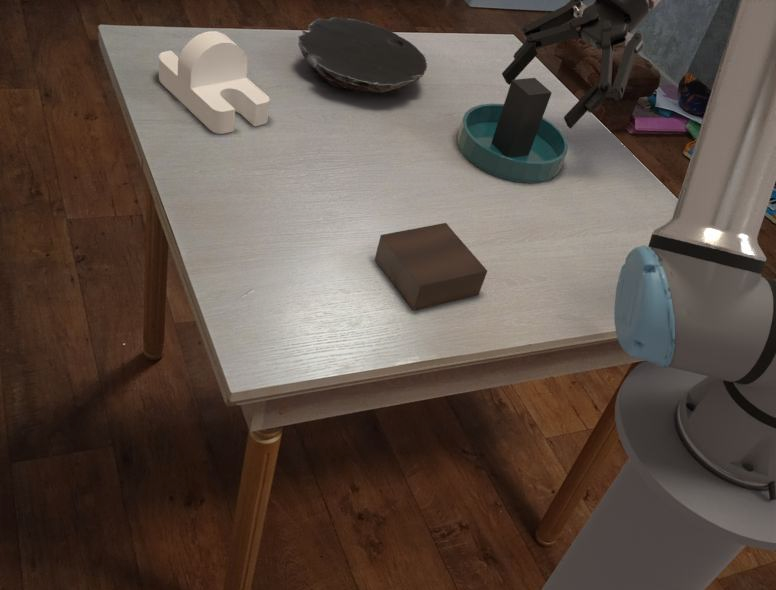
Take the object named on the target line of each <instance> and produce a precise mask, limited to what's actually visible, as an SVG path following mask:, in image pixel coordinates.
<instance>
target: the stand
mask: <svg viewBox="0 0 776 590" xmlns="http://www.w3.org/2000/svg"><path fill="white" fill-rule="evenodd" d="M374 260H375V262H376V263H377V264H378V266H379V267H380V268H381V270H382V271H383V272H384V274H385V275H386V277H388V279H389V280H390V281H391V283H392V285H394V287H395V288H396V289H397V291H398V292H399V293H400V294H401V296H402V298H403V299H404V300H405V301H406V302H407V304H408V305H409V306H410V308H411V309H412V310H413V311H416V310H420V309H424V308H428V307H433V306H437V305H441V304H445V303H449V302H454V301H457V300H461V299H467V298H470V297H474V296H478V295H480V292H481V289H482V287H483V284H484V281H485V279H486V276H487V273H488V270H487V269H486V267H485V266H484V265H483V264H482V262H481V261H479V259H478V258H477V257H476V256H475V254H473V252H472V251H471V250H470V248H469V247H467V245H466V244H465V243H464V242H463V241H462V240H461V239H460V237H459V236H458V235H457V234H456V233H455V232H454V231H453V229H452V228H451V227H450V226H449V224H448V223H447V222H442V223H438V224H432V225H426V226H421V227H416V228H411V229H405V230H399V231H395V232H389V233H384V234H380V237H379V240H378V245H377V249H376V252H375V256H374Z"/></svg>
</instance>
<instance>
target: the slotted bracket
mask: <svg viewBox="0 0 776 590" xmlns="http://www.w3.org/2000/svg"><path fill="white" fill-rule="evenodd" d="M248 64H249V61H248V57H247V55H246V53H245V51H244V50H243V49H242V48H241V47H240V46H239V45H238V44H236V43H235V42H234V41H233V40H232V39H231V38H229V37H228V36H227V35H226V34H225V33H222V32H219V31H217V30H216V31H215V30H213V31H211V30H210V31H209V30H208V31H205V32H202V33H199V34H197V35H196V36H194V37H192V38H191V39H190V40H189V41H188V42H187V43H186V44H185V45H184V46H183V48H182V51H181V52H180V54H179V56H178V55H177V54H176V53H174V52H173V50H166V51H161V53H159V54H158V81H159V83H160V84H161V85H162V86H163V87H164V88H165V89H166V90H167V91H169V92H170V93H171V94H172V95H173V96H174V98H176V99H177V100H178V101H179V102H180V103H181V104H182V105H183V106H184V107H185V108H186V109H187V110H188V111H190V112H191V113H192V115H194V116H195V117H196V118H197V119H198V120H199V121H200V122H201V123H202V124H203V125H204V126H205V127H206V128H207V129H208V130H209V131H211V132H212V133H215V134H218V135H219V134H220V135H223V134H228V133H232V132H234V131H235V121H236V120H235V119H236V113H238V114H240V115H241V116H242V117H243V118H245V119H246V121H248V122H249V123H250V124H251V125H252V126H253V127H258V126H262V125H263V126H264V125H265V124H267V123H268V119H269V110H270V101H271V98H270V96H268V94H266V93H265V92H264V91H263V90H261V88H260V87H258V86H257V85H256V84H254V82H253V81H251V80H250V79H249V78H248V77H247V76H248V66H249V65H248Z"/></svg>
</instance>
